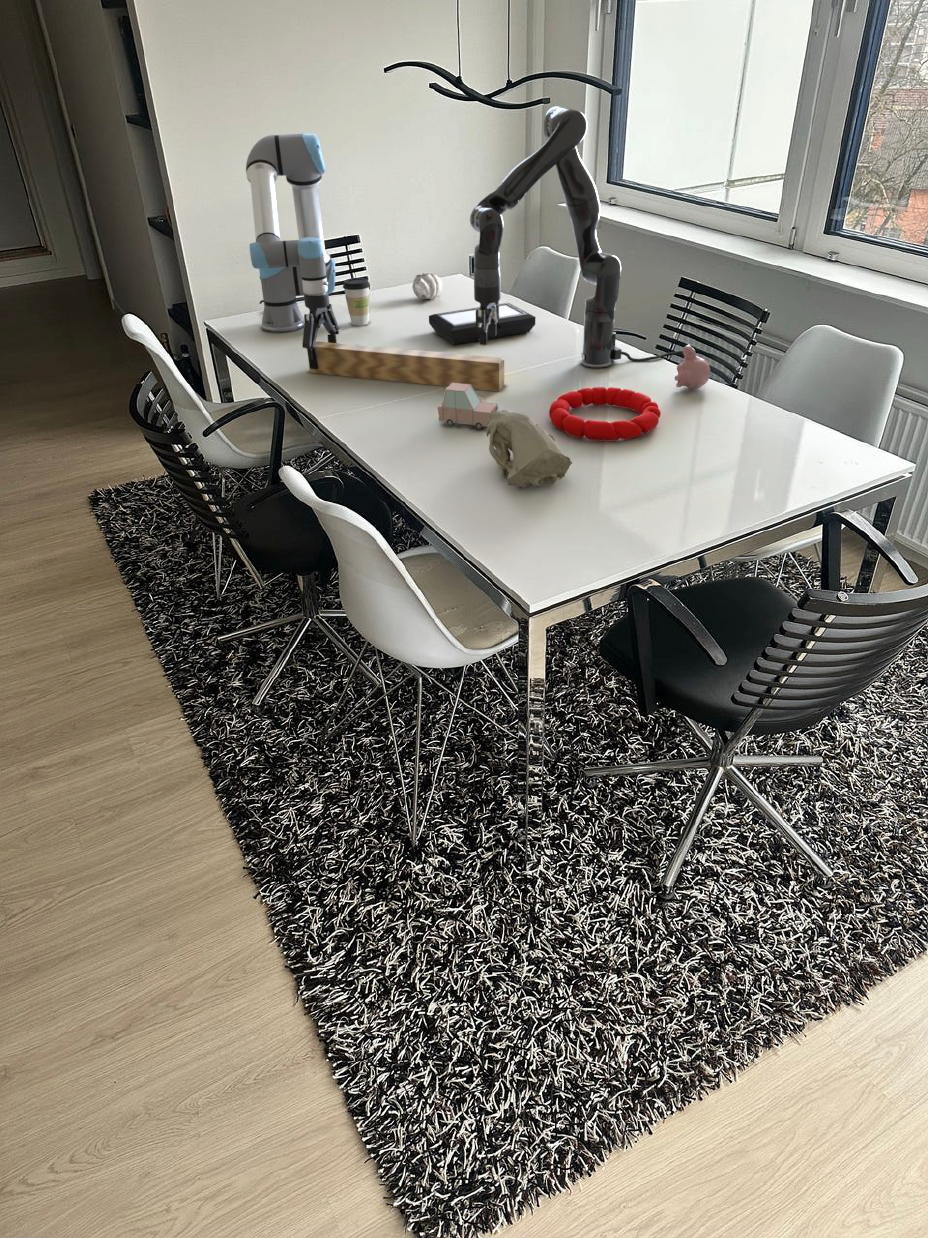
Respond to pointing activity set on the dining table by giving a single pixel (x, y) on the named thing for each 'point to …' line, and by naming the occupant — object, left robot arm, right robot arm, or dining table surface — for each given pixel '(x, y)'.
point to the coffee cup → (357, 300)
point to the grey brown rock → (525, 450)
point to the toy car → (465, 406)
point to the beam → (409, 365)
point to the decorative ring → (604, 428)
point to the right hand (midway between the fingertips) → (488, 340)
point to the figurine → (692, 370)
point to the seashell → (427, 286)
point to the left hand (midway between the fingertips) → (324, 361)
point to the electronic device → (463, 326)
